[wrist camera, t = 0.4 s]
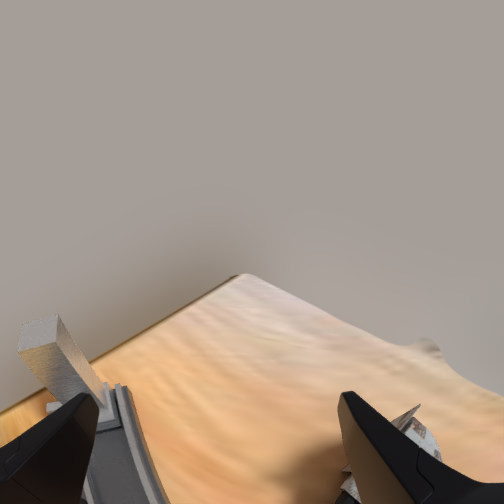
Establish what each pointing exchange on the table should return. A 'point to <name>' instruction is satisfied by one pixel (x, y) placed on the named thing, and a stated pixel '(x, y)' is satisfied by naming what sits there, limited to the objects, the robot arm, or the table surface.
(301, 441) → the table surface
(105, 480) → the rail
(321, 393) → the table surface
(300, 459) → the table surface
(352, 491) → the caster wheel
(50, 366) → the block
